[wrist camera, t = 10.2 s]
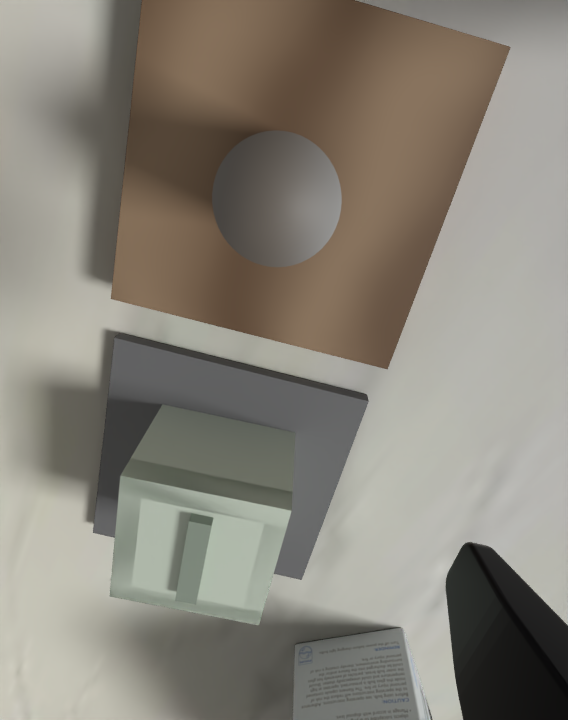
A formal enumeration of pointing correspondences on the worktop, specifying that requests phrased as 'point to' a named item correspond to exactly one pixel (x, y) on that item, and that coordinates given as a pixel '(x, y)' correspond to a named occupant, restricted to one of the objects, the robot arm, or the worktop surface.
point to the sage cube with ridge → (203, 515)
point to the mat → (234, 401)
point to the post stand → (294, 165)
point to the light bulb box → (358, 679)
